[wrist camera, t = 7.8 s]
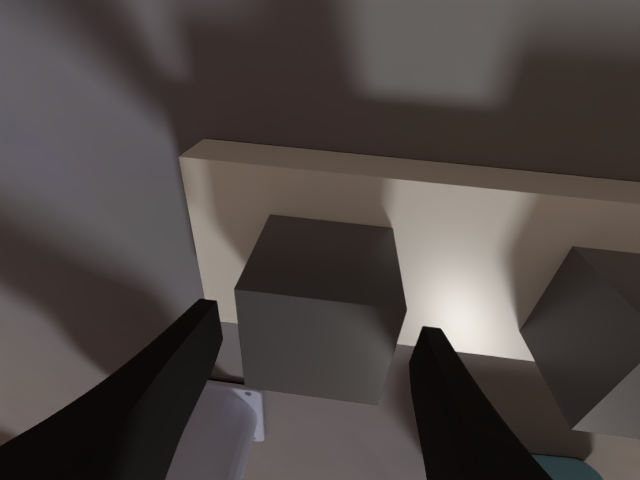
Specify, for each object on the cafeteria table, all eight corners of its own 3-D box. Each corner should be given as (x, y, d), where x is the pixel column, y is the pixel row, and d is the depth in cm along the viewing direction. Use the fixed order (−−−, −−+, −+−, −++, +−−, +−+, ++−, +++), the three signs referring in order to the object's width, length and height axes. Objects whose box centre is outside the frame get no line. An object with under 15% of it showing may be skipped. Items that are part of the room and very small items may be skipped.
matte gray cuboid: (282, 270, 18) (245, 387, 12) (282, 188, 15) (233, 289, 9) (371, 281, 18) (377, 405, 12) (388, 200, 15) (407, 310, 9)
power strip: (224, 289, 19) (166, 400, 13) (204, 138, 14) (97, 213, 8) (715, 349, 18) (885, 502, 12) (886, 206, 13) (1322, 352, 7)
